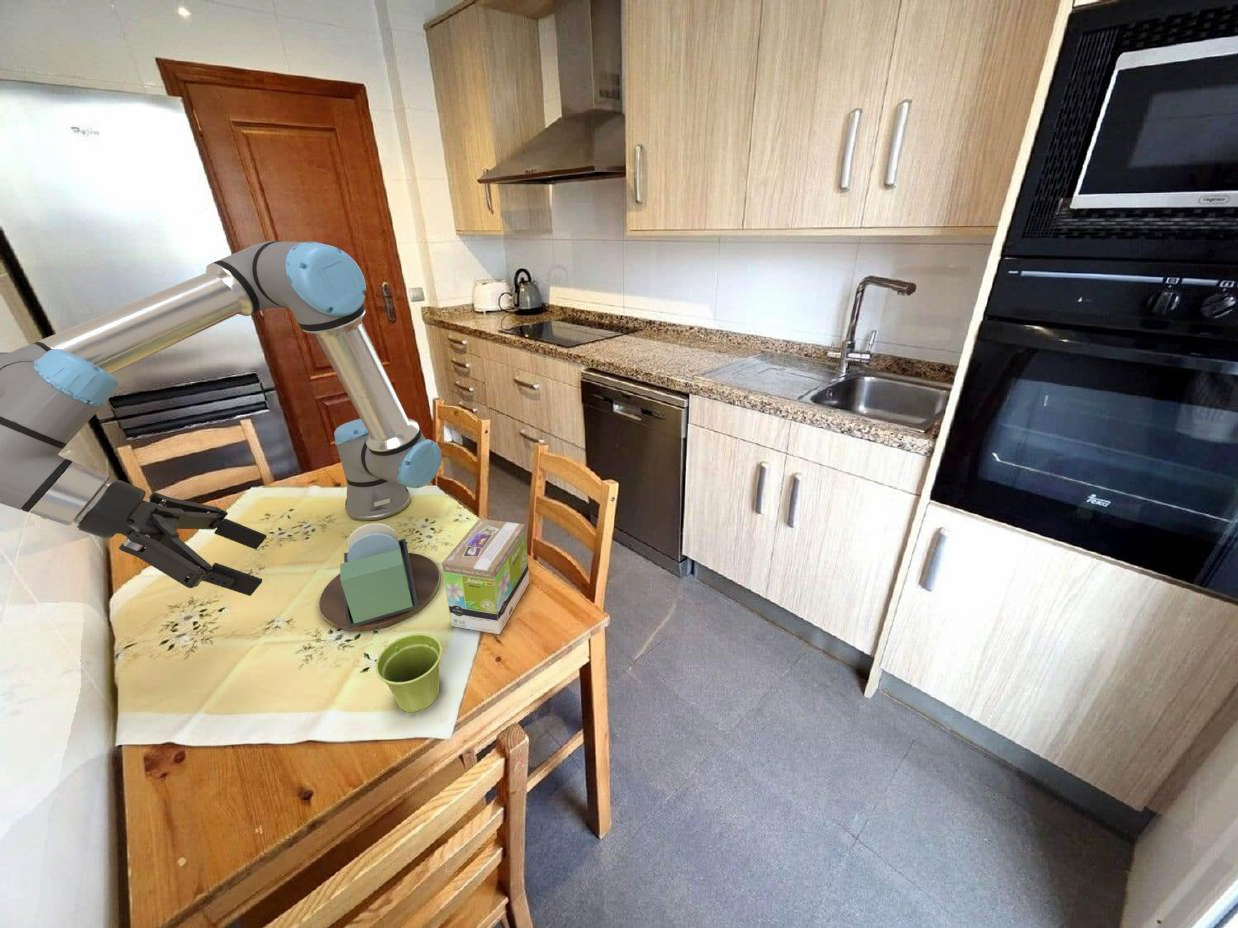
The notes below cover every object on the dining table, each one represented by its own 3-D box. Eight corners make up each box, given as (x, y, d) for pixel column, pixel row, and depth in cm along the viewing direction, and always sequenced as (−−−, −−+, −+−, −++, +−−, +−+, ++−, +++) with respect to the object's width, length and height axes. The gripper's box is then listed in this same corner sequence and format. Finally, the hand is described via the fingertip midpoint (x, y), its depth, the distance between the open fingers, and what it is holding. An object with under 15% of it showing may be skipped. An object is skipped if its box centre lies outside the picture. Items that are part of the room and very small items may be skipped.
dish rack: (347, 565, 106) (334, 522, 101) (408, 550, 111) (398, 508, 106) (348, 628, 90) (333, 581, 85) (419, 608, 95) (408, 562, 90)
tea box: (502, 636, 90) (493, 571, 84) (450, 627, 92) (438, 563, 85) (531, 582, 103) (525, 522, 97) (486, 575, 105) (477, 516, 98)
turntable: (378, 548, 113) (377, 544, 113) (461, 568, 107) (460, 564, 107) (293, 614, 95) (291, 610, 94) (388, 644, 88) (387, 639, 88)
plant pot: (462, 683, 81) (455, 644, 77) (420, 732, 74) (409, 692, 70) (418, 664, 85) (409, 625, 81) (373, 709, 77) (360, 669, 73)
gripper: (103, 485, 77) (249, 542, 90) (37, 575, 57) (236, 631, 70) (136, 447, 77) (276, 510, 90) (81, 524, 57) (271, 589, 71)
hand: (259, 563), depth 80 cm, fingers open, 13 cm apart
